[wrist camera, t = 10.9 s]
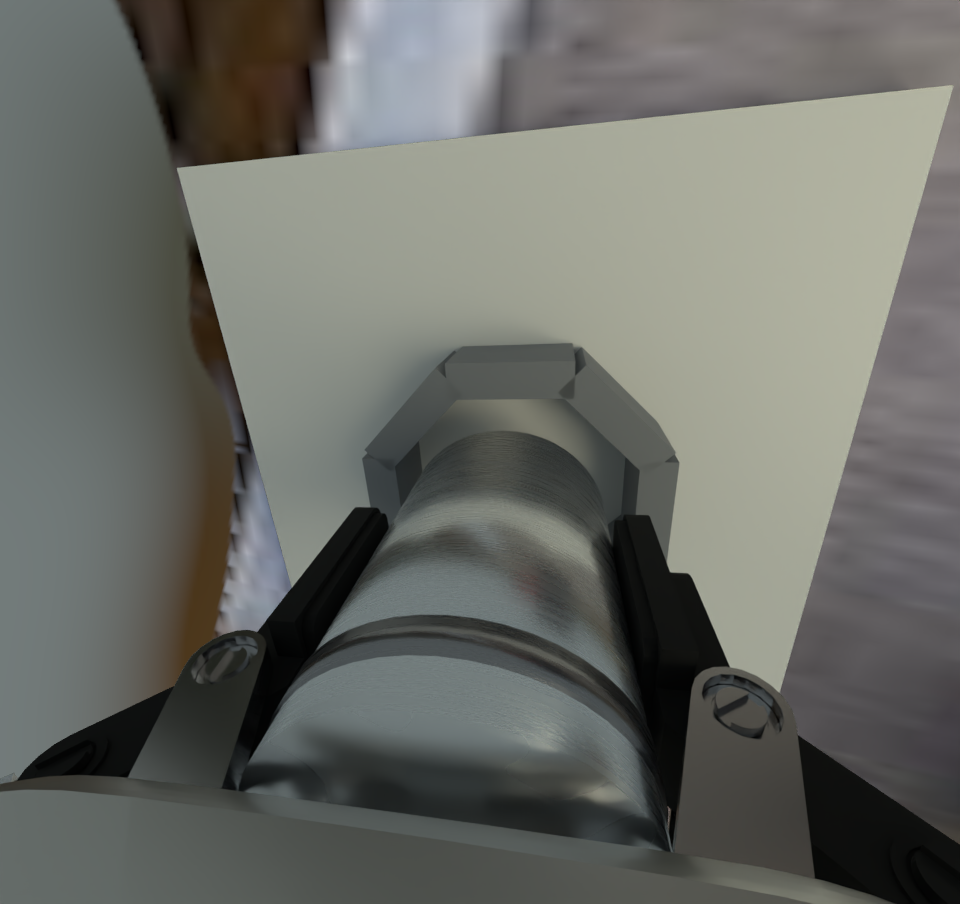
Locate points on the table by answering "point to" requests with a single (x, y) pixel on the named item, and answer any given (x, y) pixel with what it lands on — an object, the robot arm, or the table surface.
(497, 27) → the table surface
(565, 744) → the piston
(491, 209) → the holder
